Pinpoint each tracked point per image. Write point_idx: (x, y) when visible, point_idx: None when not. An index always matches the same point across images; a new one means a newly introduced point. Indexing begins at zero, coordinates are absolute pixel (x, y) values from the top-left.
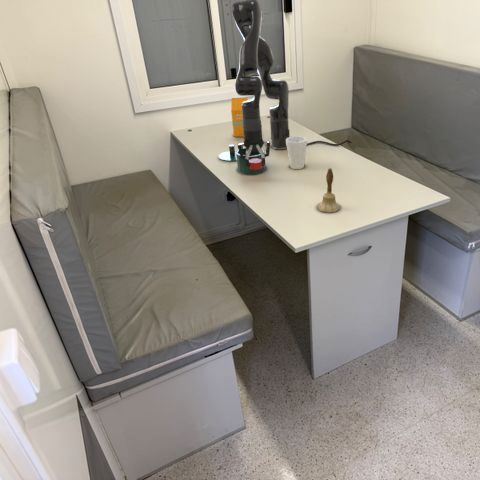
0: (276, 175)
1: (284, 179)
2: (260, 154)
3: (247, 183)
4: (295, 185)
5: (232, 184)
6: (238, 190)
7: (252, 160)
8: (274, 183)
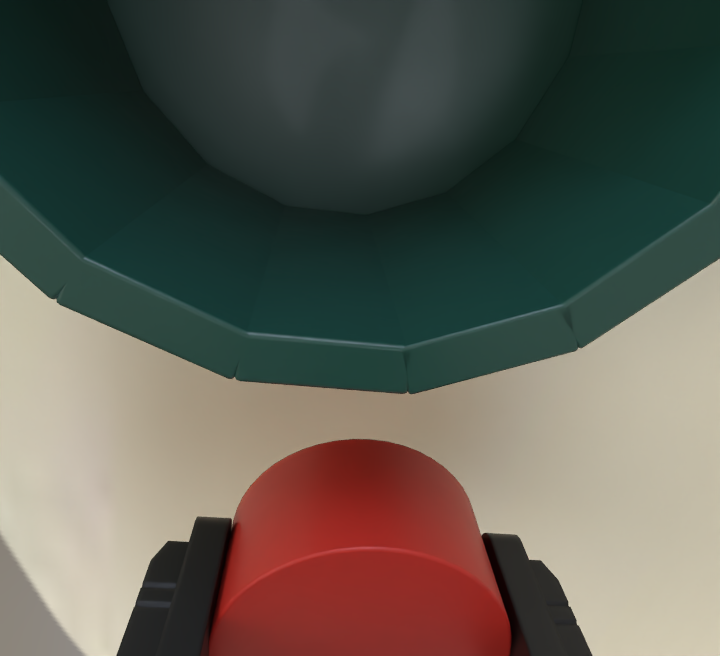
0: (628, 360)
1: (656, 490)
2: (636, 303)
3: (207, 483)
4: (679, 629)
5: (10, 464)
6: (94, 608)
7: (298, 641)
8: None
